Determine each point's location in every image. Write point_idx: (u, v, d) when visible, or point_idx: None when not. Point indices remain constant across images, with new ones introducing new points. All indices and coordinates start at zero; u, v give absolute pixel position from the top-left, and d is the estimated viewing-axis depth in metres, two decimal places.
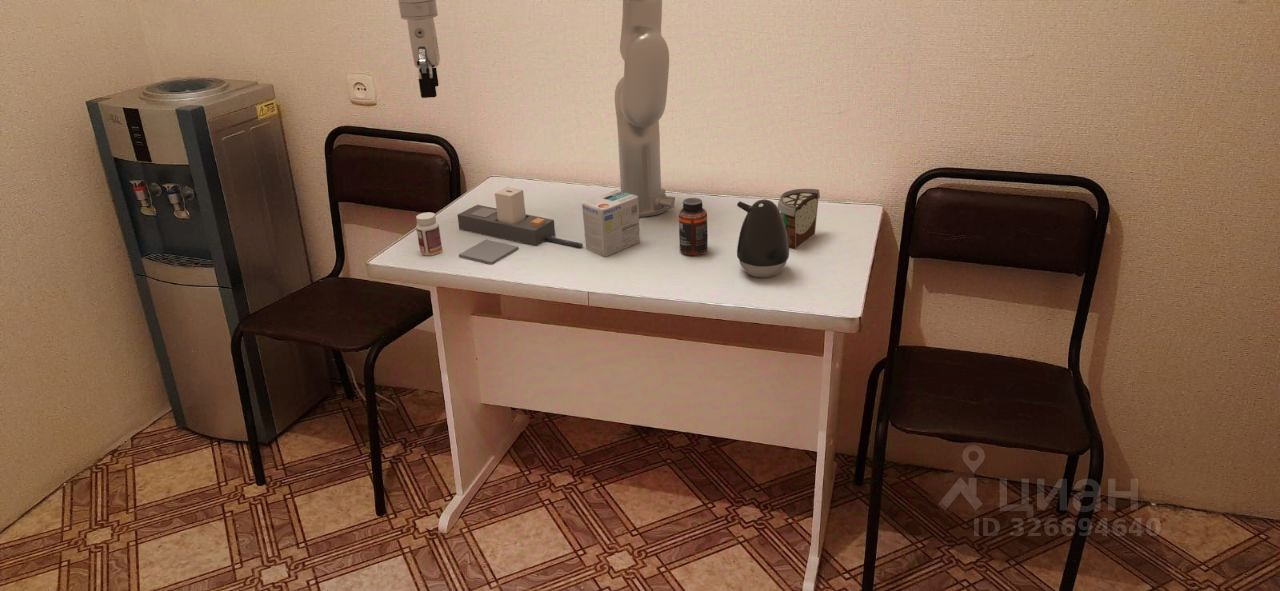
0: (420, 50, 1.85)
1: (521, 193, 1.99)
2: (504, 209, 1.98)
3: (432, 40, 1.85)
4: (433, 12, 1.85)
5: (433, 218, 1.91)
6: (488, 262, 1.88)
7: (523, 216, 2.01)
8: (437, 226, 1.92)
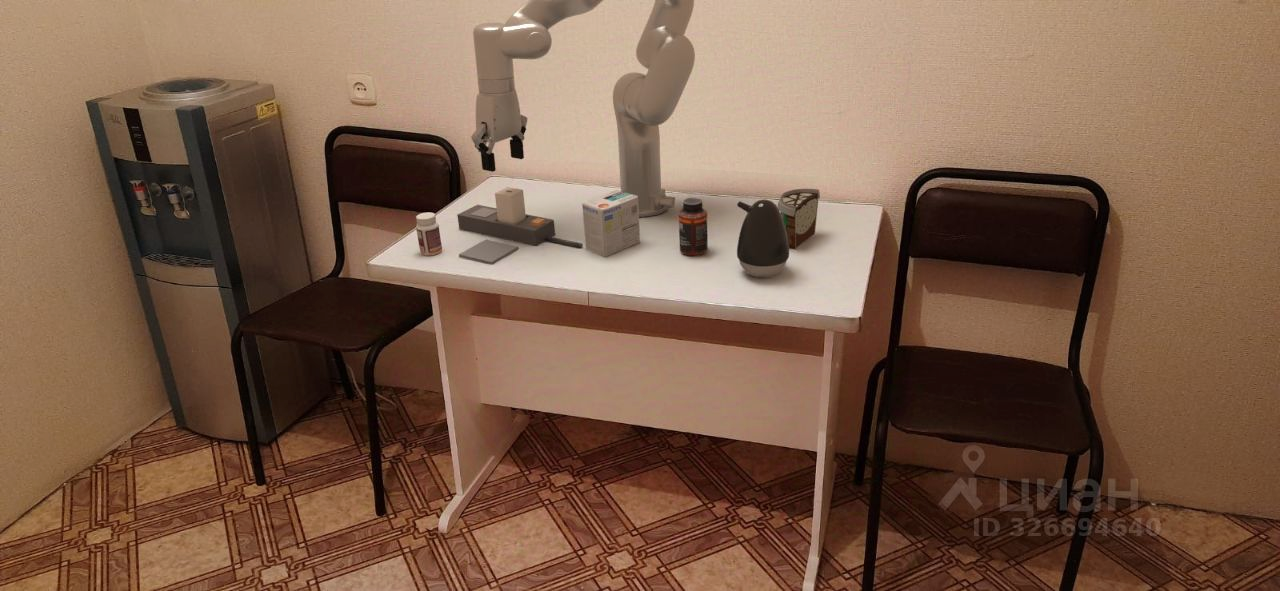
0: None
1: (521, 193, 1.99)
2: (504, 209, 1.98)
3: None
4: None
5: (433, 218, 1.91)
6: (488, 262, 1.88)
7: (523, 216, 2.01)
8: (437, 226, 1.92)
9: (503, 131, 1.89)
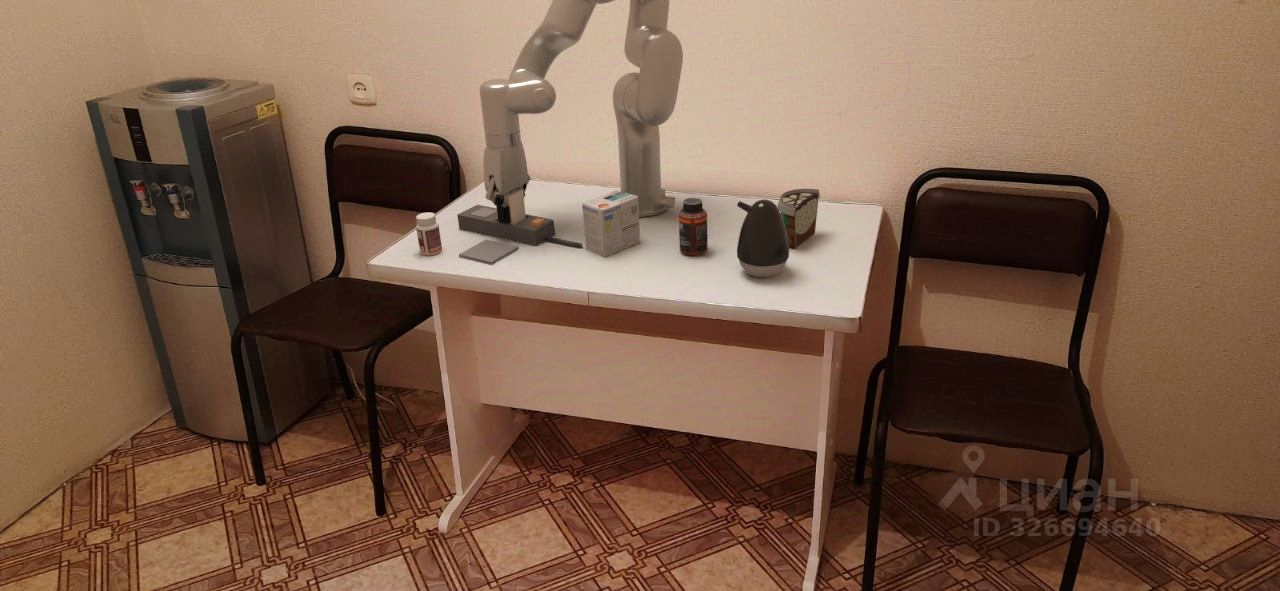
0: None
1: (521, 193, 1.99)
2: None
3: None
4: None
5: (433, 218, 1.91)
6: (488, 262, 1.88)
7: (523, 216, 2.01)
8: (437, 226, 1.92)
9: (510, 183, 1.95)
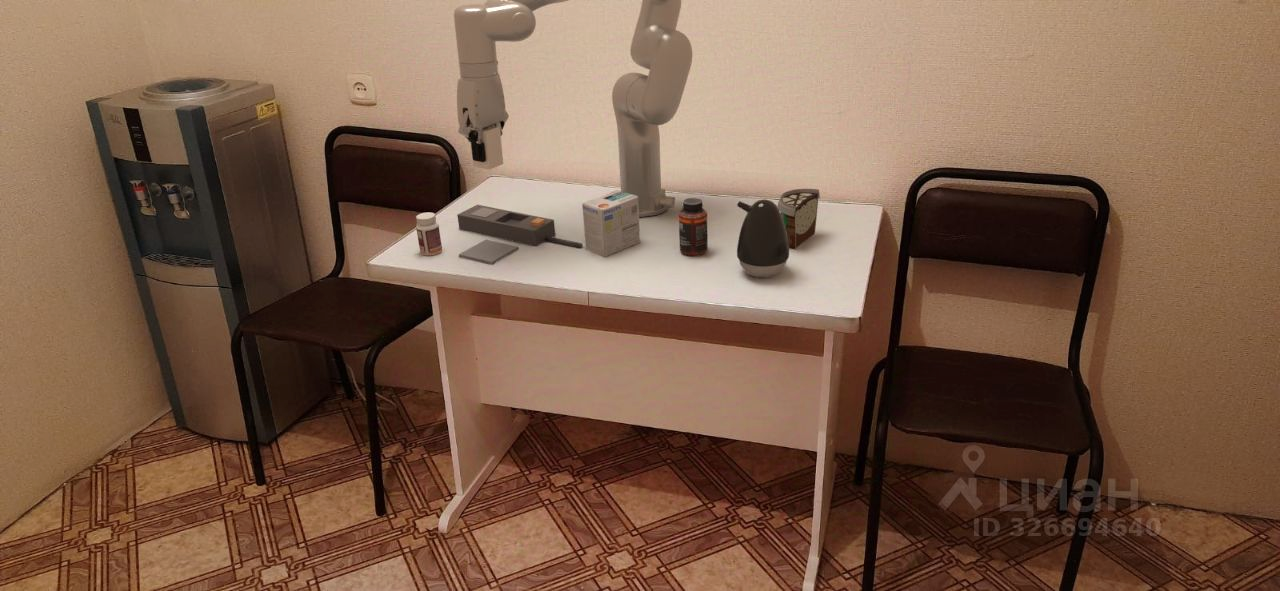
0: None
1: (497, 130, 1.86)
2: None
3: None
4: None
5: (433, 218, 1.91)
6: (488, 262, 1.88)
7: (499, 155, 1.88)
8: (437, 226, 1.92)
9: (485, 117, 1.82)
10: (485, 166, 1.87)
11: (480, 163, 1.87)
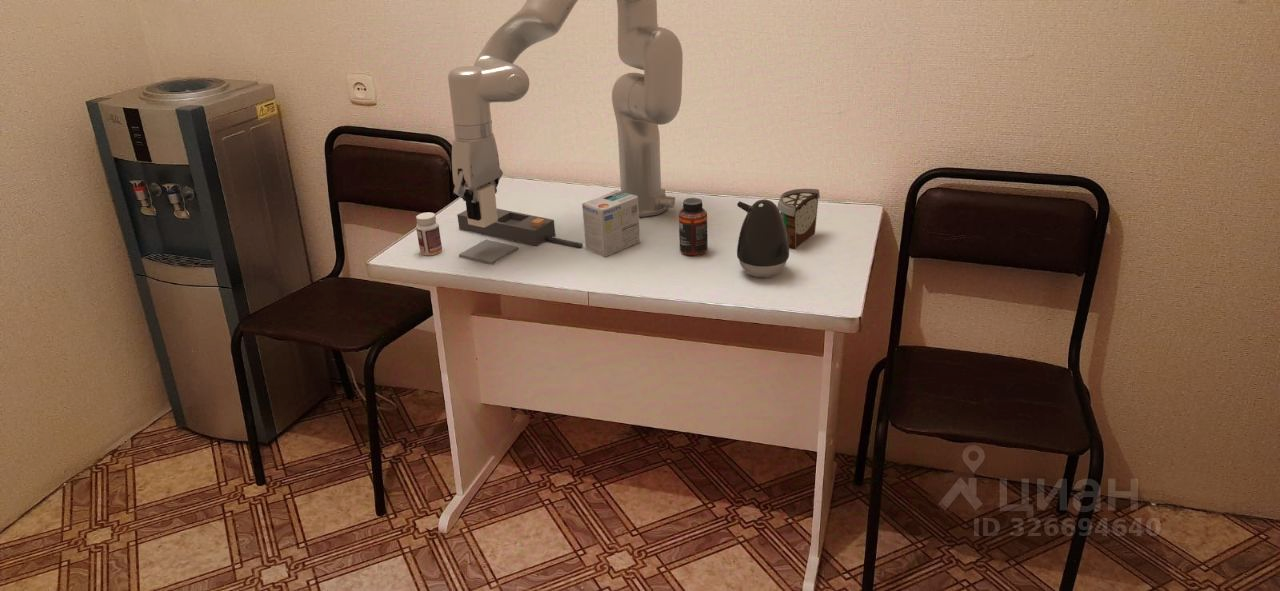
0: None
1: (492, 188, 1.87)
2: None
3: None
4: None
5: (433, 218, 1.91)
6: (488, 262, 1.88)
7: (494, 213, 1.89)
8: (437, 226, 1.92)
9: (480, 177, 1.83)
10: (480, 224, 1.88)
11: (475, 221, 1.88)
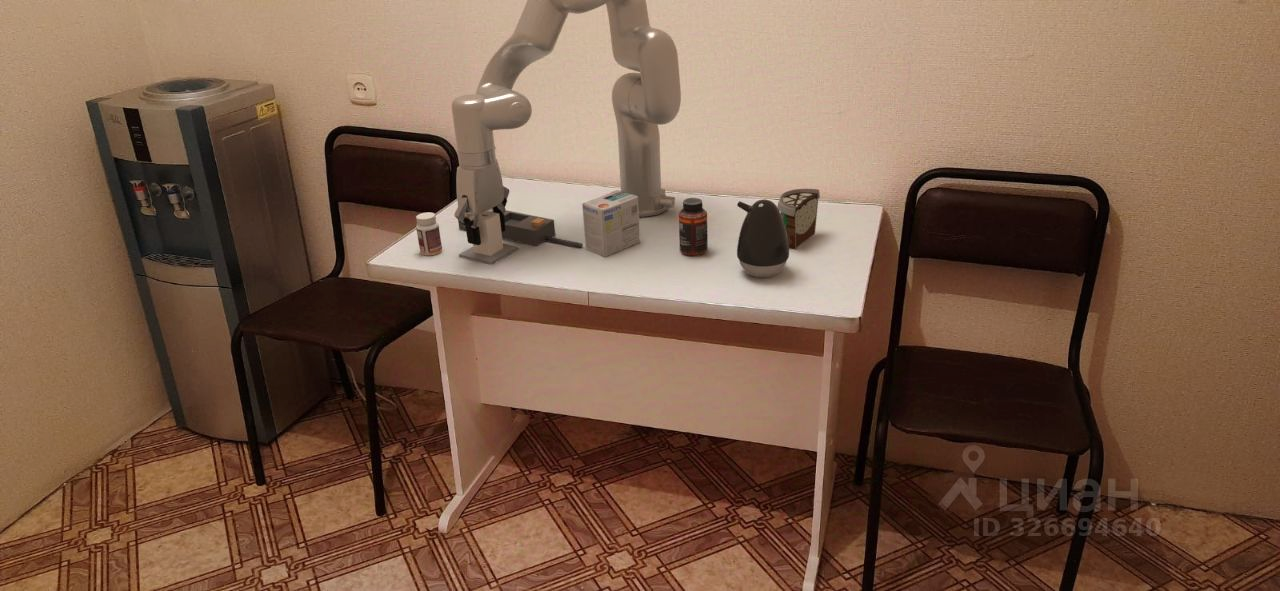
0: None
1: (497, 217, 1.90)
2: (480, 234, 1.89)
3: None
4: None
5: (433, 218, 1.91)
6: (488, 262, 1.88)
7: (499, 241, 1.92)
8: (437, 226, 1.92)
9: (485, 203, 1.86)
10: (486, 252, 1.91)
11: (481, 249, 1.91)
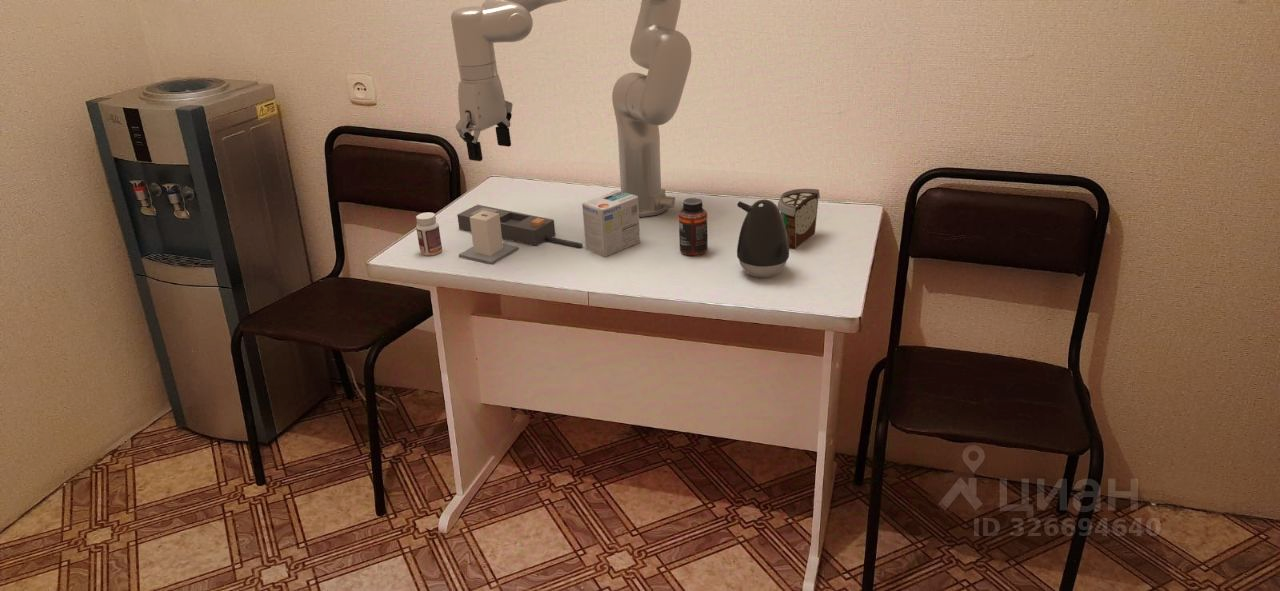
0: None
1: (497, 217, 1.90)
2: (480, 234, 1.89)
3: None
4: None
5: (433, 218, 1.91)
6: (488, 262, 1.88)
7: (499, 241, 1.92)
8: (437, 226, 1.92)
9: (488, 119, 1.83)
10: (486, 252, 1.91)
11: (481, 249, 1.91)
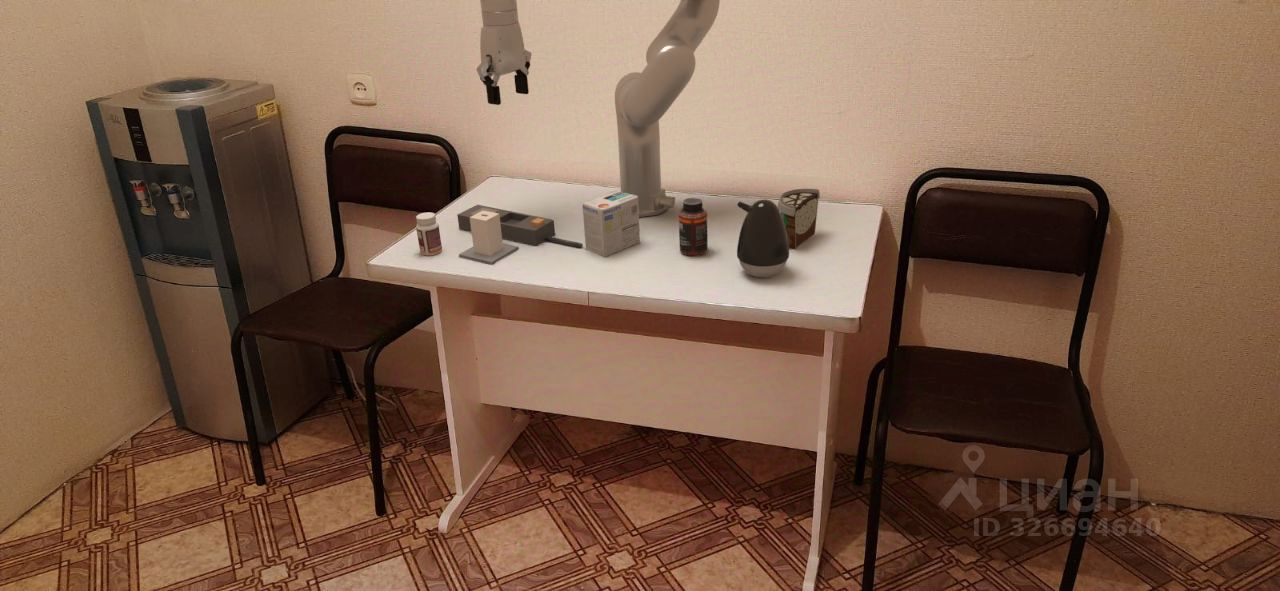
0: None
1: (497, 217, 1.90)
2: (480, 234, 1.89)
3: None
4: None
5: (433, 218, 1.91)
6: (488, 262, 1.88)
7: (499, 241, 1.92)
8: (437, 226, 1.92)
9: (508, 64, 1.92)
10: (486, 252, 1.91)
11: (481, 249, 1.91)
